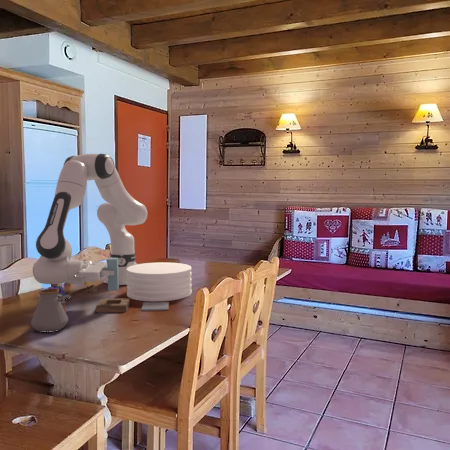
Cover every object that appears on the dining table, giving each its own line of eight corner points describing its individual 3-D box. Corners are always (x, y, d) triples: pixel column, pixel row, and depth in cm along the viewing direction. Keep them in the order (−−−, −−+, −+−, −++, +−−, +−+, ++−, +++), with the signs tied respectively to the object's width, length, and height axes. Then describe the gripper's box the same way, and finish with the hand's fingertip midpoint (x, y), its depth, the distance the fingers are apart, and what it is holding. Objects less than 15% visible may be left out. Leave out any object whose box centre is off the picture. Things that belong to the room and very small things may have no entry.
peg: (109, 288, 177) (108, 257, 176) (118, 288, 177) (118, 257, 176) (108, 290, 174) (107, 259, 172) (117, 290, 174) (116, 259, 173)
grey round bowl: (77, 298, 192) (76, 286, 191) (51, 304, 182) (51, 291, 182) (59, 294, 199) (59, 282, 198) (34, 300, 189) (33, 288, 188)
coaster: (143, 304, 182) (143, 302, 182) (168, 303, 183) (168, 302, 183) (141, 310, 172) (141, 309, 172) (168, 310, 173) (168, 308, 173)
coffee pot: (24, 334, 145) (22, 288, 143) (40, 323, 156) (39, 280, 155) (91, 335, 144) (90, 288, 142) (102, 324, 155) (101, 281, 154)
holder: (101, 304, 181) (101, 298, 181) (129, 304, 182) (129, 298, 182) (96, 312, 170) (96, 306, 170) (126, 311, 171) (126, 305, 171)
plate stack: (155, 284, 220) (154, 260, 219) (204, 291, 205) (203, 265, 204) (113, 296, 196) (112, 269, 195) (165, 305, 181) (164, 276, 180)
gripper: (71, 269, 163) (111, 268, 164) (83, 259, 183) (118, 258, 185) (72, 286, 164) (111, 285, 165) (84, 274, 184) (119, 274, 185)
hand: (115, 271), depth 175 cm, fingers closed on peg, 4 cm apart
